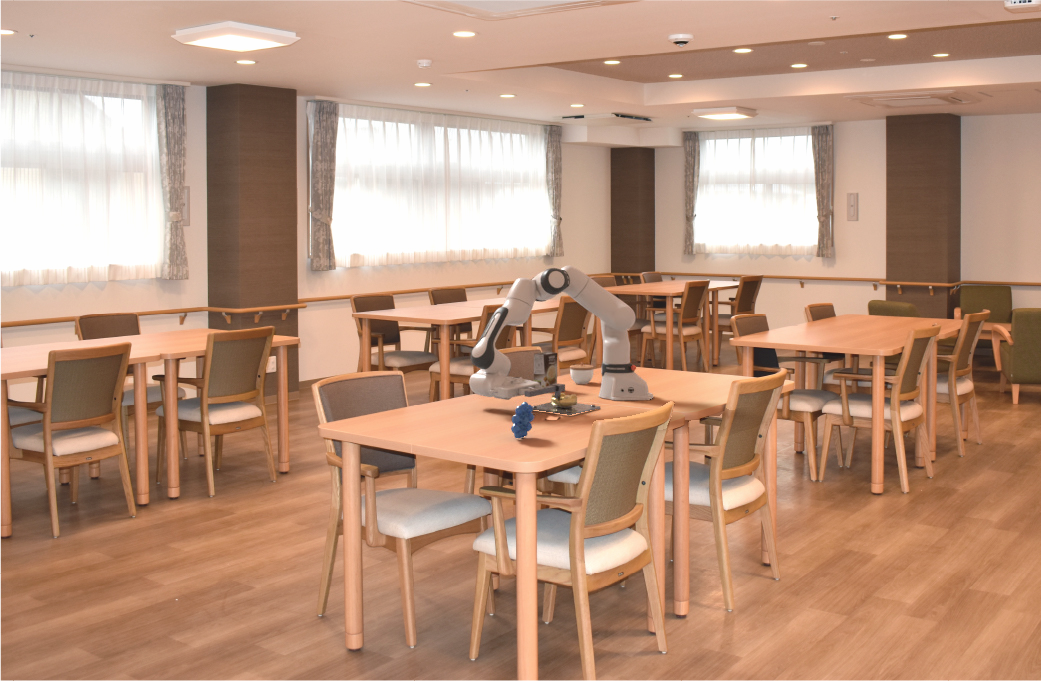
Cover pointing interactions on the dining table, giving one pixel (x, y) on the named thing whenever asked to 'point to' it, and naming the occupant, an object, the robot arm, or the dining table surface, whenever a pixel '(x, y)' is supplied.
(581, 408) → the dark square board
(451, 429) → the dining table surface
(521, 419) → the grapes
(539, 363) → the coffee box
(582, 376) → the lidded jar
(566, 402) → the lever valve
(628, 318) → the robot arm
